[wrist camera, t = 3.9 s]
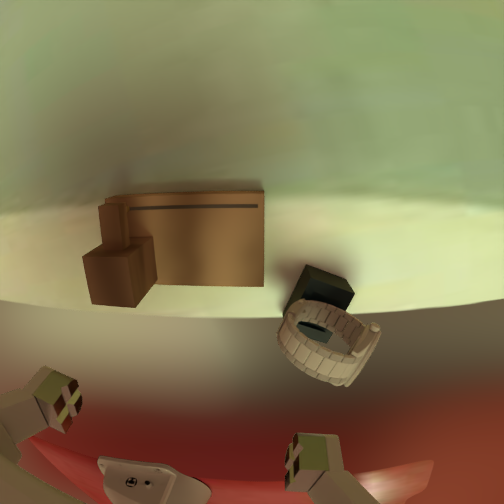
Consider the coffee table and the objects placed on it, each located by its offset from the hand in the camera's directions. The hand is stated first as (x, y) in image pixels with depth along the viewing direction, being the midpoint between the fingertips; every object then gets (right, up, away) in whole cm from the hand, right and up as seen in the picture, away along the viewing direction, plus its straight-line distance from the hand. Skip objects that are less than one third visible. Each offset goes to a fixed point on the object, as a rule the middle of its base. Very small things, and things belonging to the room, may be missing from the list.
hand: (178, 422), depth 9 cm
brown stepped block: (-8, +7, +16) cm, 19 cm away
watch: (+9, +2, +20) cm, 22 cm away
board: (-3, +7, +18) cm, 20 cm away
